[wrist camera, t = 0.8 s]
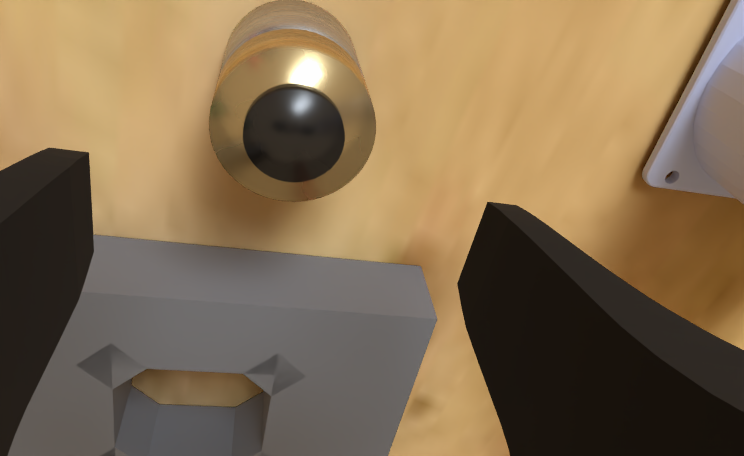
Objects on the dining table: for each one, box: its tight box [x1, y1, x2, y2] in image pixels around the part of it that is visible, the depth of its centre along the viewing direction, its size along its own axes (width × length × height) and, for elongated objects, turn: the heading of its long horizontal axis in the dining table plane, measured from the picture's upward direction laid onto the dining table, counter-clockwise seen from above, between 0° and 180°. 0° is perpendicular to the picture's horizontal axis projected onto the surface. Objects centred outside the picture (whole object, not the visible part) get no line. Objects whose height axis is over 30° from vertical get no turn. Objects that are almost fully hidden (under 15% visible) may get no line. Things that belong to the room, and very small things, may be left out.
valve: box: [209, 0, 376, 202], centre depth 16 cm, size 4×4×5 cm
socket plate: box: [8, 235, 437, 456], centre depth 23 cm, size 16×12×3 cm
